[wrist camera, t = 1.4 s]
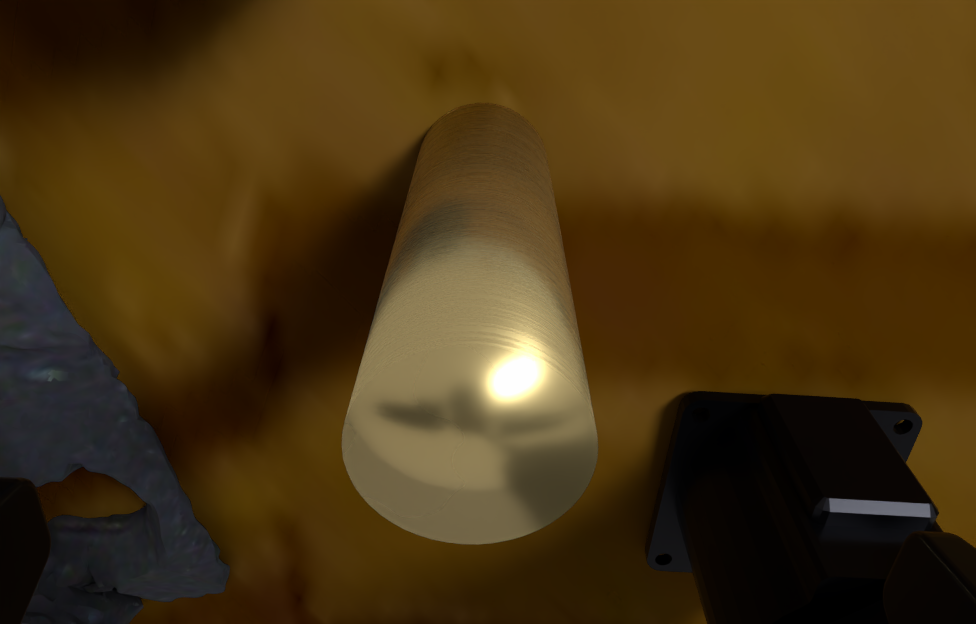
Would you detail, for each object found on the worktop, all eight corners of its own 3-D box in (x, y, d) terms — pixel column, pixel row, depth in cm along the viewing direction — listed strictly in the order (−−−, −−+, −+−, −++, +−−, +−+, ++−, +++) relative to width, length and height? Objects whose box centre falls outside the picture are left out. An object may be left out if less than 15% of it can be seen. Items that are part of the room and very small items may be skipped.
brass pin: (540, 231, 18) (581, 550, 10) (416, 223, 18) (346, 537, 10) (554, 107, 17) (615, 353, 8) (419, 98, 17) (336, 337, 8)
